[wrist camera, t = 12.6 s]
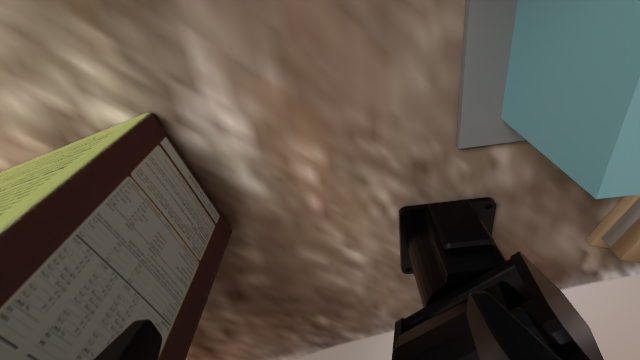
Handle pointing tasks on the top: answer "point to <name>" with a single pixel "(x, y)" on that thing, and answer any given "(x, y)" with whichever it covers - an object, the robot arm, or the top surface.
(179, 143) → the top surface
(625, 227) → the offcut stack
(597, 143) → the teal block
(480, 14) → the charcoal mat
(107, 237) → the protein box
